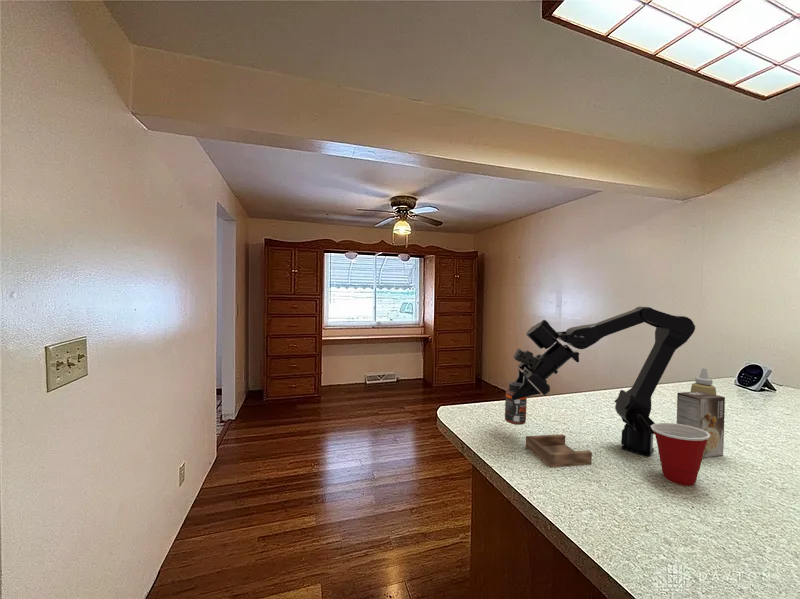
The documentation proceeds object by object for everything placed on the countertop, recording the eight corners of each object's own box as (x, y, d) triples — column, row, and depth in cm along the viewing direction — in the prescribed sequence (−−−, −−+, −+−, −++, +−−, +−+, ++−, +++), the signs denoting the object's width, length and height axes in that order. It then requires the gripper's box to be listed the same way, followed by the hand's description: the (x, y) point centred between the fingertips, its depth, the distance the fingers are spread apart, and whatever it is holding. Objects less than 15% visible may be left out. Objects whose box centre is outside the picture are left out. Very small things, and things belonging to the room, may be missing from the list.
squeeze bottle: (723, 423, 120) (726, 371, 120) (700, 422, 120) (702, 370, 120) (703, 415, 128) (705, 366, 128) (681, 414, 128) (683, 366, 128)
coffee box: (698, 445, 100) (700, 390, 100) (724, 455, 94) (726, 397, 94) (674, 448, 98) (676, 392, 98) (699, 458, 92) (701, 398, 92)
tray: (562, 444, 98) (562, 434, 98) (591, 464, 87) (591, 452, 87) (525, 446, 96) (525, 436, 96) (550, 467, 85) (551, 455, 85)
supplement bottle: (522, 427, 98) (523, 387, 98) (501, 422, 101) (502, 383, 101) (528, 421, 102) (529, 383, 102) (508, 416, 106) (509, 380, 106)
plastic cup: (650, 463, 88) (652, 416, 88) (706, 478, 81) (709, 428, 81) (646, 480, 80) (649, 428, 80) (709, 498, 73) (712, 442, 73)
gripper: (525, 336, 110) (489, 368, 112) (538, 344, 92) (494, 383, 94) (551, 362, 109) (513, 394, 111) (569, 375, 90) (524, 414, 93)
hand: (511, 395), depth 102 cm, fingers closed on supplement bottle, 6 cm apart
